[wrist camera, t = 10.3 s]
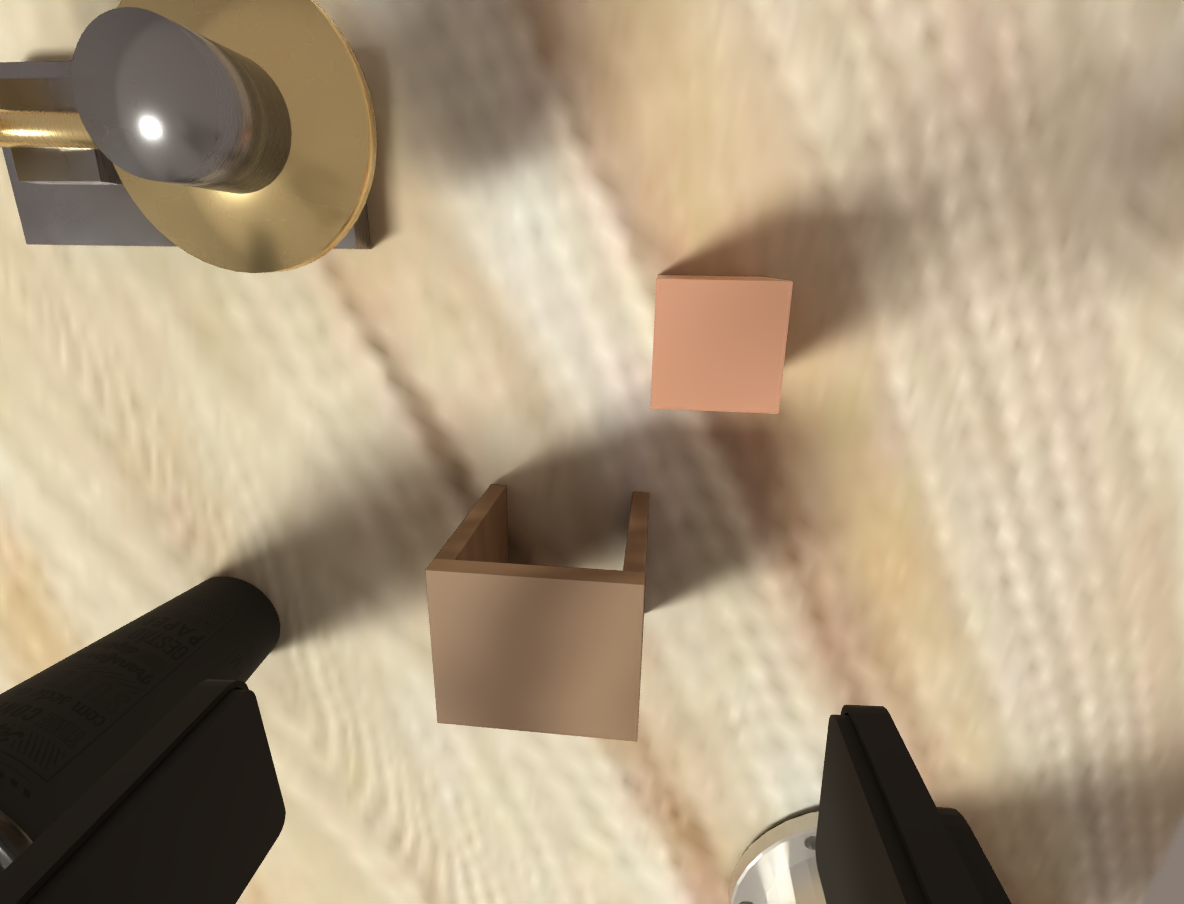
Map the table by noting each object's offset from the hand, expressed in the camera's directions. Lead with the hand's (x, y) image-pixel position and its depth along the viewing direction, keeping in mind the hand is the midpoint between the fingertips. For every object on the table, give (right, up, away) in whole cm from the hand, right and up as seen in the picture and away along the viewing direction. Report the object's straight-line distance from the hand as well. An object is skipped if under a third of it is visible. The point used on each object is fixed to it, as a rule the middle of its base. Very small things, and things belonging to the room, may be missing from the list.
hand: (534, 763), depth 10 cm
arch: (0, +1, +18) cm, 18 cm away
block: (+5, +10, +14) cm, 18 cm away
